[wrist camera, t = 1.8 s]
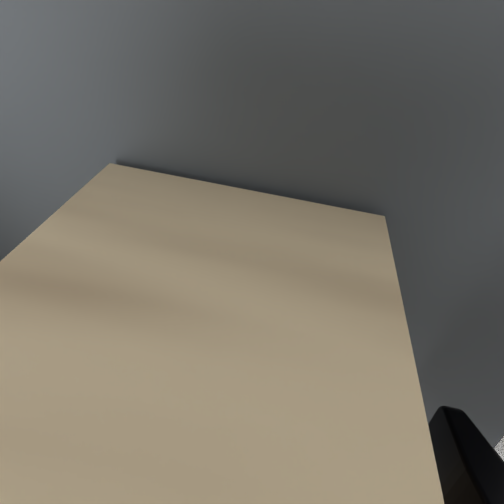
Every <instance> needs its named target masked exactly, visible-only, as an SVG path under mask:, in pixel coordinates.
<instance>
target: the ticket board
mask: <svg viewBox="0 0 504 504" xmlns="http://www.w3.org/2000/svg"><path fill="white" fill-rule="evenodd" d="M109 163H112V164H117V165H122V166H127V167H133V168H138V169H143V170H148V171H153V172H158V173H164V174H169V175H174V176H179V177H184V178H190V179H195V180H200V181H205V182H210V183H215V184H221V185H226V186H231V187H236V188H241V189H247V190H252V191H257V192H262V193H267V194H273V195H278V196H283V197H288V198H293V199H298V200H304V201H309V202H314V203H319V204H324V205H330V206H335V207H340V208H345V209H350V210H355V211H361V212H366V213H371V214H376V215H381V216H385V219H386V224H387V229H388V234H389V239H390V243H391V248H392V253H393V258H394V263H395V268H396V272H397V277H398V282H399V287H400V292H401V296H402V301H403V306H404V311H405V316H406V321H407V325H408V330H409V335H410V340H411V345H412V349H413V354H414V359H415V364H416V369H417V374H418V378H419V383H420V388H421V393H422V398H423V403H424V407H425V412H426V417H427V422H428V424H429V422H430V420H431V419H432V417H433V415H434V414H435V412H436V410H437V409H438V408H439V407H440V406H449V407H453V408H458V409H461V410H463V411H464V412H465V413H466V414H467V415H468V416H469V418H470V419H471V420H472V422H473V423H474V424H475V425H476V427H477V428H478V429H479V430H480V432H481V433H482V434H483V436H484V437H485V438H486V439H487V441H488V442H489V443H490V445H491V446H492V447H493V448H494V447H495V446H496V445H497V443H498V442H499V441H500V440H501V438H502V437H503V436H504V0H0V261H1V260H2V259H3V258H5V257H6V256H7V255H8V254H9V253H10V252H11V251H12V250H14V249H15V248H16V247H17V246H18V245H19V244H20V243H21V242H22V241H24V240H25V239H26V238H27V237H28V236H29V235H30V234H31V233H32V232H34V231H35V230H36V229H37V228H38V227H39V226H40V225H41V224H42V223H44V222H45V221H46V220H47V219H48V218H49V217H50V216H51V215H52V214H54V213H55V212H56V211H57V210H58V209H59V208H60V207H61V206H62V205H64V204H65V203H66V202H67V201H68V200H69V199H70V198H71V197H72V196H74V195H75V194H76V193H77V192H78V191H79V190H80V189H81V188H82V187H84V186H85V185H86V184H87V183H88V182H89V181H90V180H91V179H92V178H94V177H95V176H96V175H97V174H98V173H99V172H100V171H101V170H102V169H104V168H105V167H106V166H107V165H108V164H109Z"/></svg>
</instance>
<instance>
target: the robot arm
mask: <svg viewBox="0 0 504 504" xmlns="http://www.w3.org/2000/svg"><path fill="white" fill-rule="evenodd" d="M428 427H429V431H430V436H431V441H432V446H433V451H434V456H435V460H436V465H437V470H438V475H439V480H440V484H441V489H442V494H443V499H444V504H504V461H503V460H502V459H501V457H500V456H499V455H498V453H497V452H496V451H495V450H494V448H493V447H492V446H491V445H490V443H489V442H488V441H487V439H486V438H485V437H484V436H483V434H482V433H481V432H480V430H479V429H478V428H477V427H476V425H475V424H474V423H473V422H472V420H471V419H470V418H469V416H468V415H467V414H466V413H465V412H464V411H463V410H461V409H458V408H453V407H449V406H440V407H439V408H438V409H437V410H436V412H435V414H434V415H433V417H432V419H431V420H430V422H429V424H428Z"/></svg>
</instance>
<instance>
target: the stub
mask: <svg viewBox="0 0 504 504" xmlns="http://www.w3.org/2000/svg"><path fill="white" fill-rule="evenodd" d="M0 504H444V499H443V494H442V489H441V484H440V480H439V475H438V470H437V465H436V460H435V456H434V451H433V446H432V441H431V436H430V431H429V427H428V422H427V417H426V412H425V407H424V403H423V398H422V393H421V388H420V383H419V378H418V374H417V369H416V364H415V359H414V354H413V349H412V345H411V340H410V335H409V330H408V325H407V321H406V316H405V311H404V306H403V301H402V296H401V292H400V287H399V282H398V277H397V272H396V268H395V263H394V258H393V253H392V248H391V243H390V239H389V234H388V229H387V224H386V219H385V216H381V215H376V214H371V213H366V212H361V211H355V210H350V209H345V208H340V207H335V206H330V205H324V204H319V203H314V202H309V201H304V200H298V199H293V198H288V197H283V196H278V195H273V194H267V193H262V192H257V191H252V190H247V189H241V188H236V187H231V186H226V185H221V184H215V183H210V182H205V181H200V180H195V179H190V178H184V177H179V176H174V175H169V174H164V173H158V172H153V171H148V170H143V169H138V168H133V167H127V166H122V165H117V164H112V163H109V164H108V165H107V166H106V167H105V168H104V169H102V170H101V171H100V172H99V173H98V174H97V175H96V176H95V177H94V178H92V179H91V180H90V181H89V182H88V183H87V184H86V185H85V186H84V187H82V188H81V189H80V190H79V191H78V192H77V193H76V194H75V195H74V196H72V197H71V198H70V199H69V200H68V201H67V202H66V203H65V204H64V205H62V206H61V207H60V208H59V209H58V210H57V211H56V212H55V213H54V214H52V215H51V216H50V217H49V218H48V219H47V220H46V221H45V222H44V223H42V224H41V225H40V226H39V227H38V228H37V229H36V230H35V231H34V232H32V233H31V234H30V235H29V236H28V237H27V238H26V239H25V240H24V241H22V242H21V243H20V244H19V245H18V246H17V247H16V248H15V249H14V250H12V251H11V252H10V253H9V254H8V255H7V256H6V257H5V258H3V259H2V260H1V261H0Z"/></svg>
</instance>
